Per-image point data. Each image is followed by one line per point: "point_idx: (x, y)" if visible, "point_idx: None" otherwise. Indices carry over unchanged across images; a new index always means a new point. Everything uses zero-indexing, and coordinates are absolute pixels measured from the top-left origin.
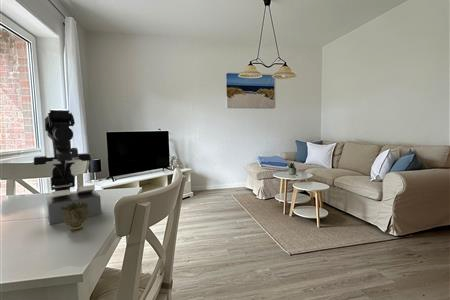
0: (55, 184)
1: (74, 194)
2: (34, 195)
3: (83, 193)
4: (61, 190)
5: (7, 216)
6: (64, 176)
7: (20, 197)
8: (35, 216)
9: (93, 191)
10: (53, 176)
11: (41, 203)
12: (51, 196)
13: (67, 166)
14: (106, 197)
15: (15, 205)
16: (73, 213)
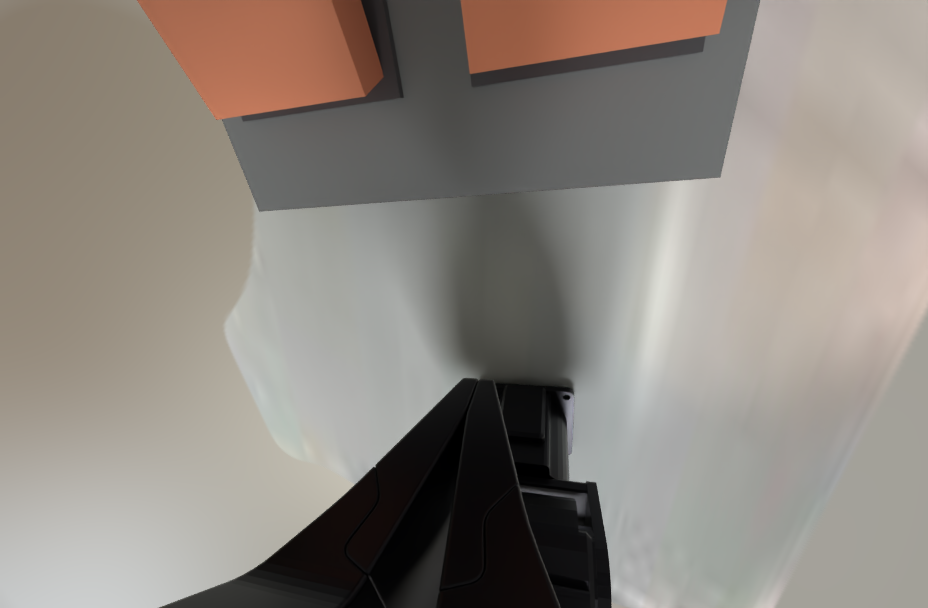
0: (571, 504)
1: (417, 106)
2: (638, 586)
3: None
4: (557, 16)
5: (902, 314)
6: (469, 411)
7: (700, 597)
8: (745, 177)
9: (243, 135)
10: (589, 597)
11: (637, 454)
12: (662, 173)
13: (300, 603)
14: (309, 343)
15: (764, 504)
16: None
